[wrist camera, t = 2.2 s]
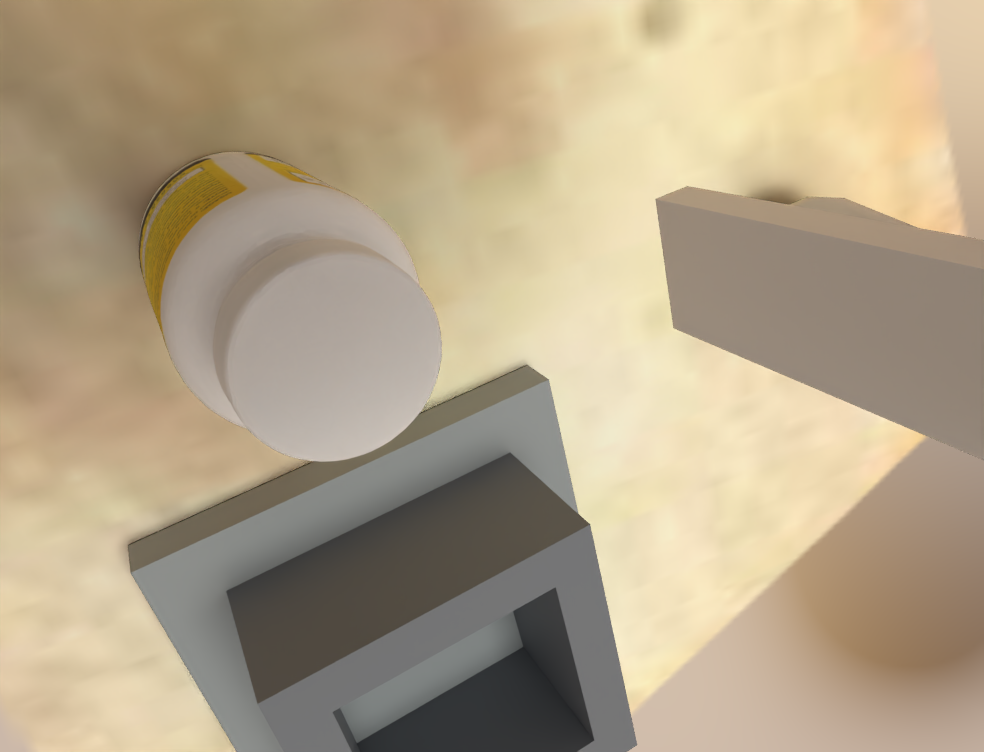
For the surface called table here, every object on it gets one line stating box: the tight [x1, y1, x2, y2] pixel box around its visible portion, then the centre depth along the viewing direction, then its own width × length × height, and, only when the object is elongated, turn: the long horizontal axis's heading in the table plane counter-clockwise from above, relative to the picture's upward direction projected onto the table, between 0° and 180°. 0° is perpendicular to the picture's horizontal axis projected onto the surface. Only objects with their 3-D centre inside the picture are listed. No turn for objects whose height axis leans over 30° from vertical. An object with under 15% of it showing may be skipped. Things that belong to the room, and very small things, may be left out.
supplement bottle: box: [139, 152, 442, 462], centre depth 18 cm, size 5×5×10 cm
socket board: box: [128, 365, 637, 752], centre depth 26 cm, size 14×14×6 cm
